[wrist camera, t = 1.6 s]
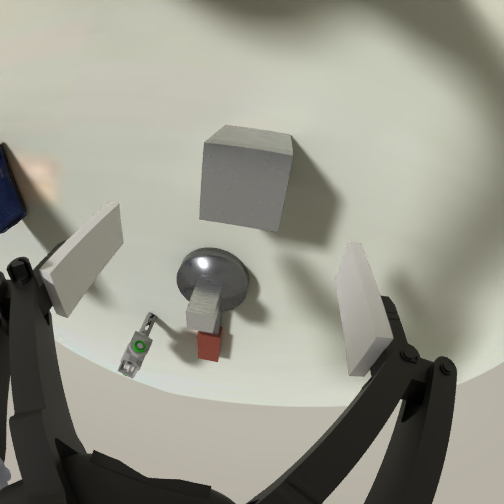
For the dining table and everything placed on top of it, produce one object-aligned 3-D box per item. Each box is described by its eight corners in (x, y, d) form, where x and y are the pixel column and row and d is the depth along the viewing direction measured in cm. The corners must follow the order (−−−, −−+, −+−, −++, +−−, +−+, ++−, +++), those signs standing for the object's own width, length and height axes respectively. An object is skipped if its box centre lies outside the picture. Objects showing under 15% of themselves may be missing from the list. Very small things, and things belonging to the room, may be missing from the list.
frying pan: (180, 242, 34) (157, 284, 27) (253, 254, 34) (244, 301, 27) (185, 344, 46) (173, 382, 40) (236, 354, 46) (229, 394, 40)
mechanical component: (170, 303, 40) (147, 356, 32) (151, 334, 46) (132, 380, 38) (152, 294, 40) (127, 346, 32) (136, 326, 45) (115, 372, 37)
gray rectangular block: (225, 125, 25) (203, 142, 19) (290, 134, 25) (293, 155, 19) (219, 183, 29) (199, 219, 23) (279, 193, 29) (277, 232, 22)
